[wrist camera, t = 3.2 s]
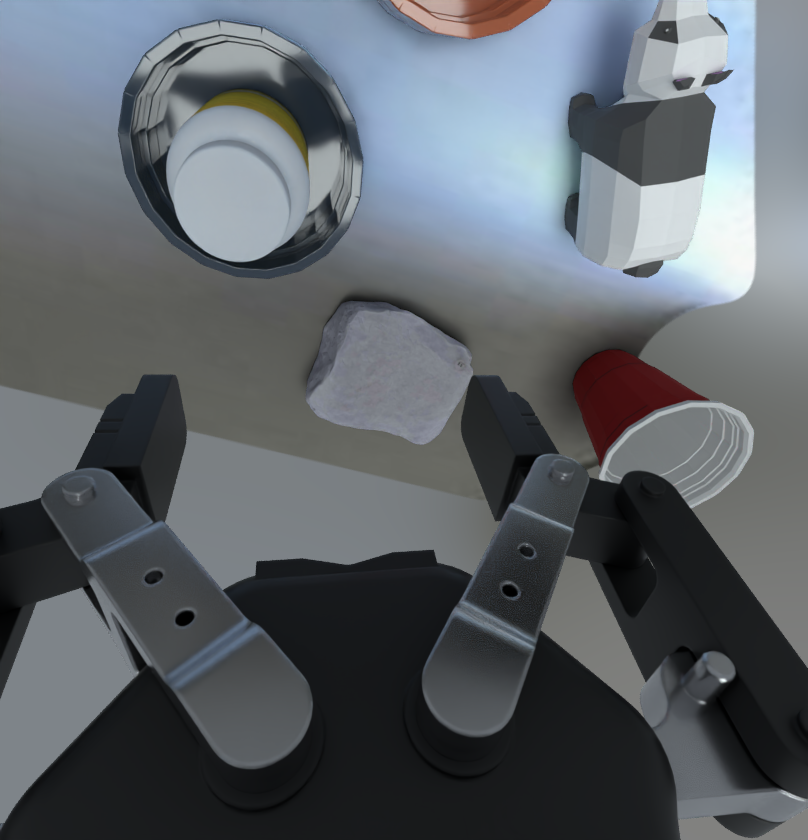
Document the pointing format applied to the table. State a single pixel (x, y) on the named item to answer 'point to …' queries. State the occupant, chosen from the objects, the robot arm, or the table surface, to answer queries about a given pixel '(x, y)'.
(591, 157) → the giant panda
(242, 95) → the pill bottle
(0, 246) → the table surface
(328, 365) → the stone block
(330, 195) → the metal bowl
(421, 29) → the terracotta bowl
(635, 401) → the plastic cup
